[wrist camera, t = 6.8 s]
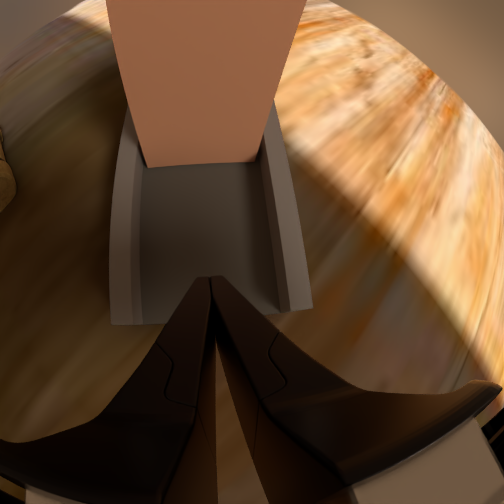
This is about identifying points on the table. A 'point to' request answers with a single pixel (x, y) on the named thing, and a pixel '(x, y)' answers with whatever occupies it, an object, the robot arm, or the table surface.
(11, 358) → the table surface
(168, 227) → the gray tray
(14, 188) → the gavel
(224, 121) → the block
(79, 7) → the table surface
